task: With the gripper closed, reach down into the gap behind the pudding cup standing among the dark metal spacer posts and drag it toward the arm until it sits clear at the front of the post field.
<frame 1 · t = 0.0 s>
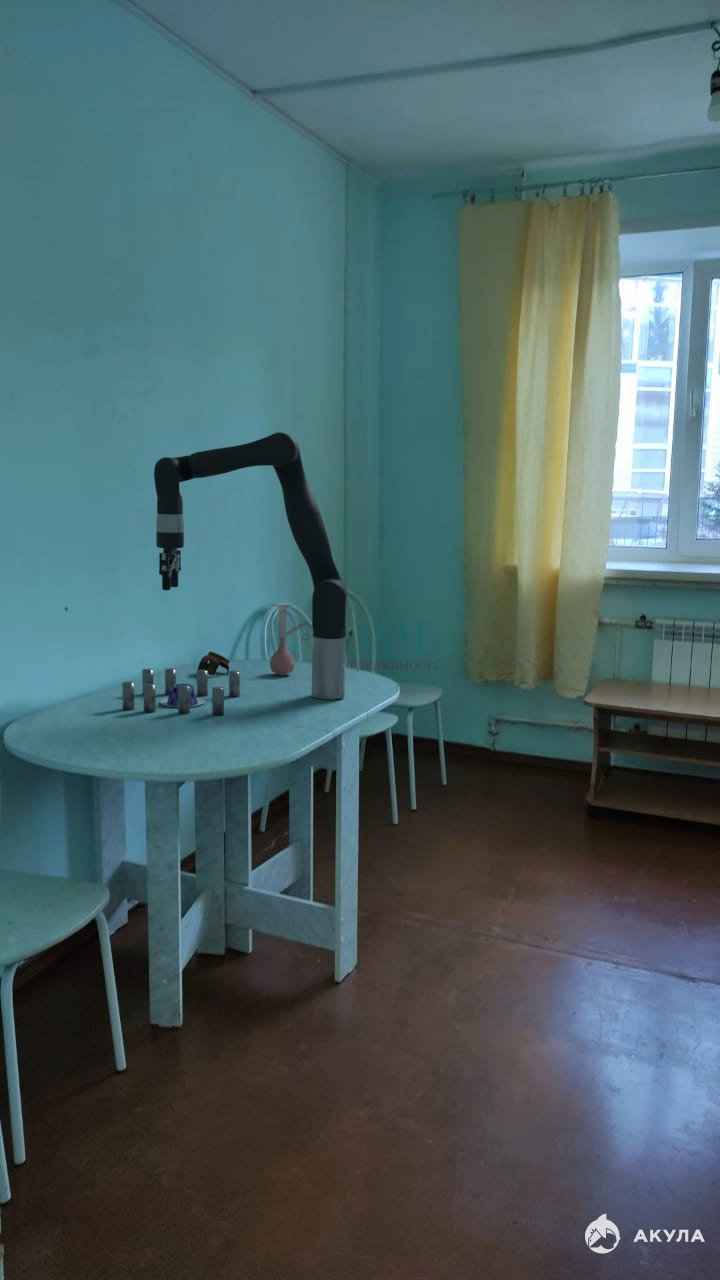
hand: (170, 588, 260), 29 cm above the table, fingers open, 8 cm apart
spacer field: (175, 702, 250), on the table
pudding: (182, 705, 250), on the table
perfume bottle: (282, 675, 291), on the table
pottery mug: (212, 676, 288), on the table
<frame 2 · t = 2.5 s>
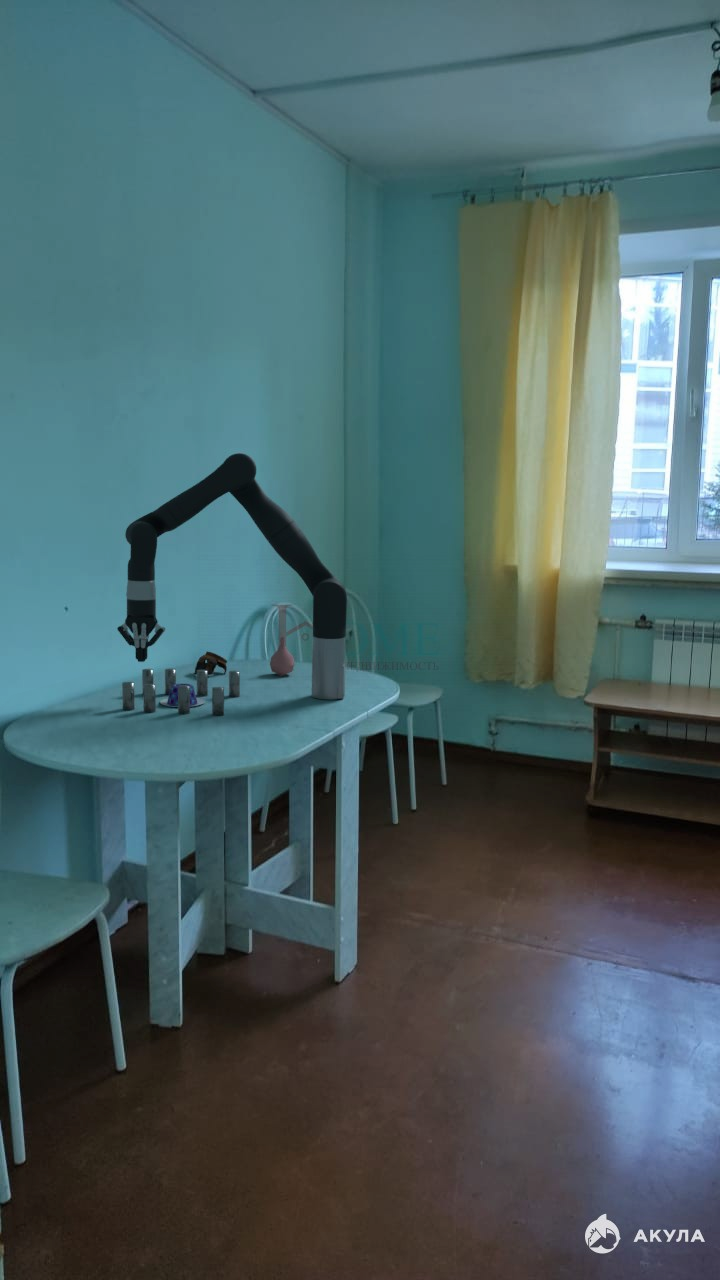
hand: (141, 661, 249), 11 cm above the table, fingers closed
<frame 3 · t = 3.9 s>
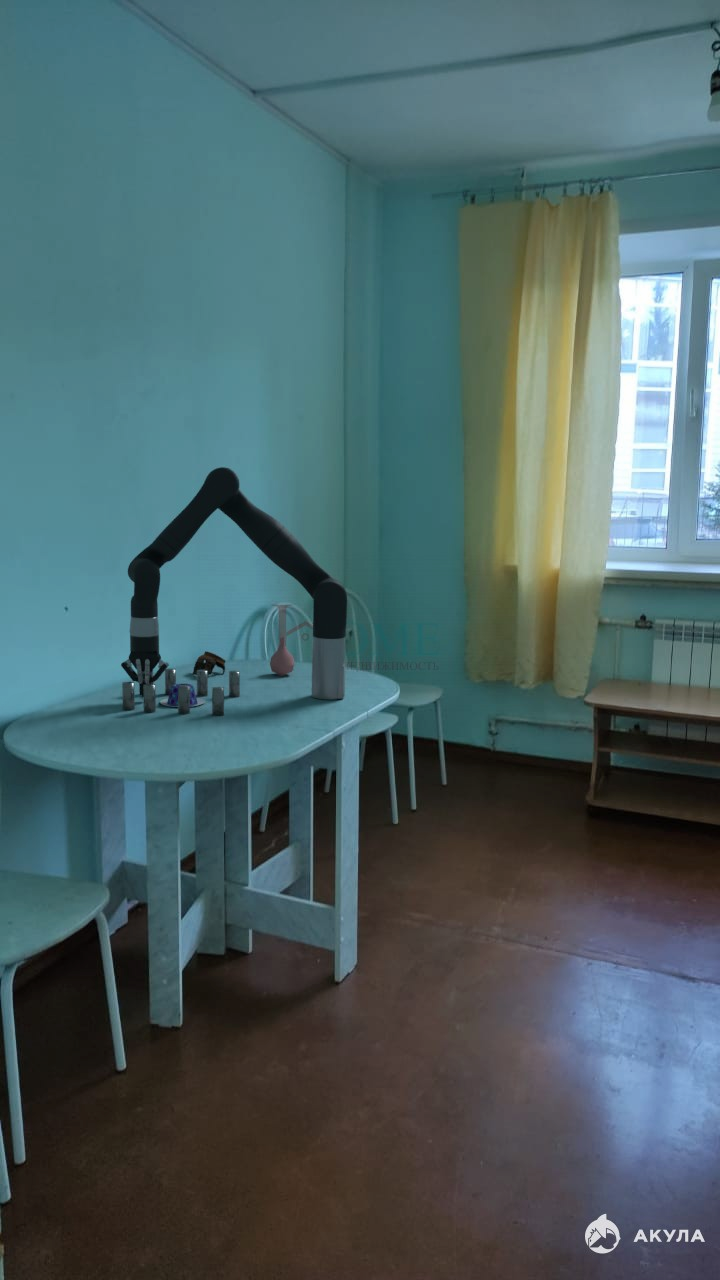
hand: (145, 696, 250), 1 cm above the table, fingers closed
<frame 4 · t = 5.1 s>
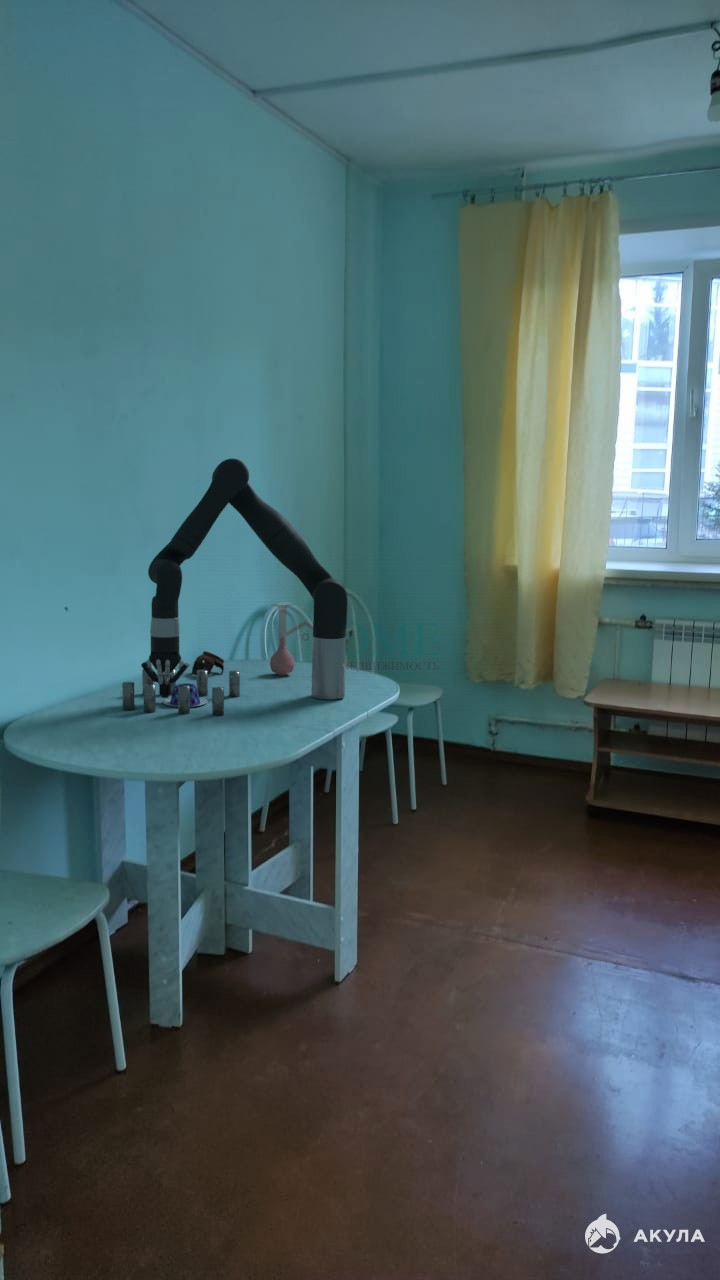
hand: (165, 697, 250), 1 cm above the table, fingers closed
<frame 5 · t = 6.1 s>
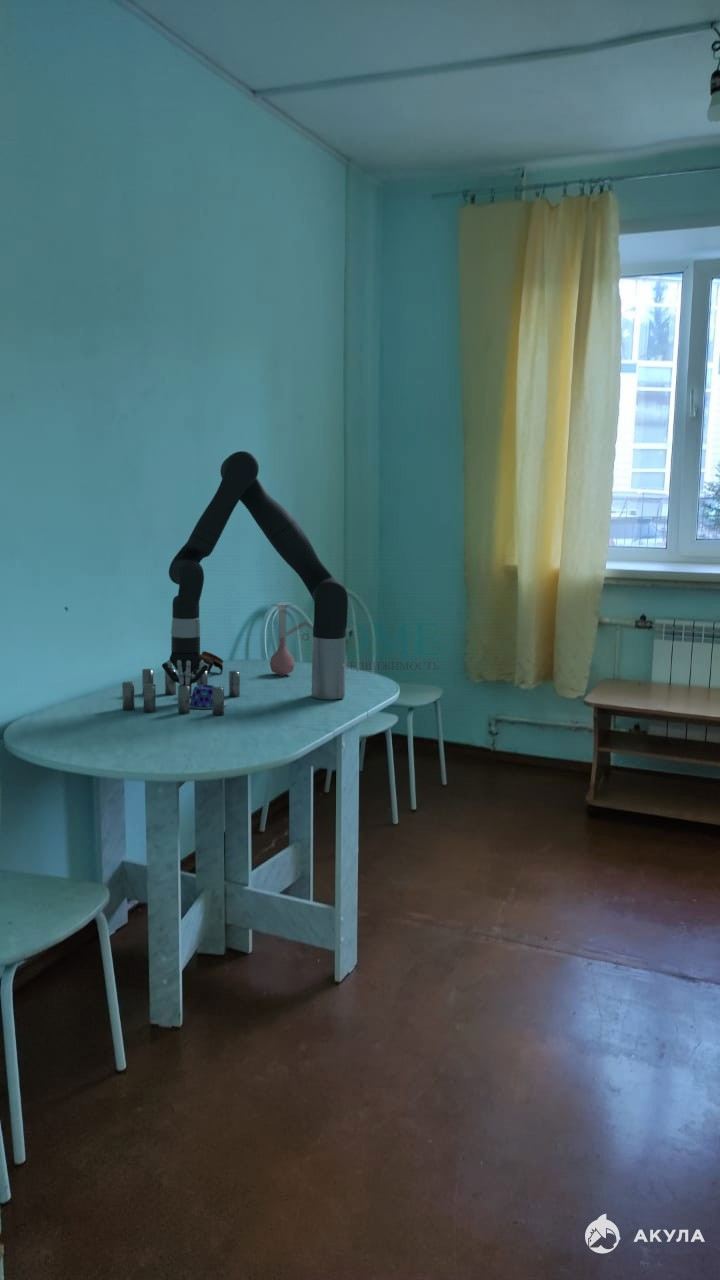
hand: (185, 697, 249), 2 cm above the table, fingers closed
pudding: (205, 706, 249), on the table
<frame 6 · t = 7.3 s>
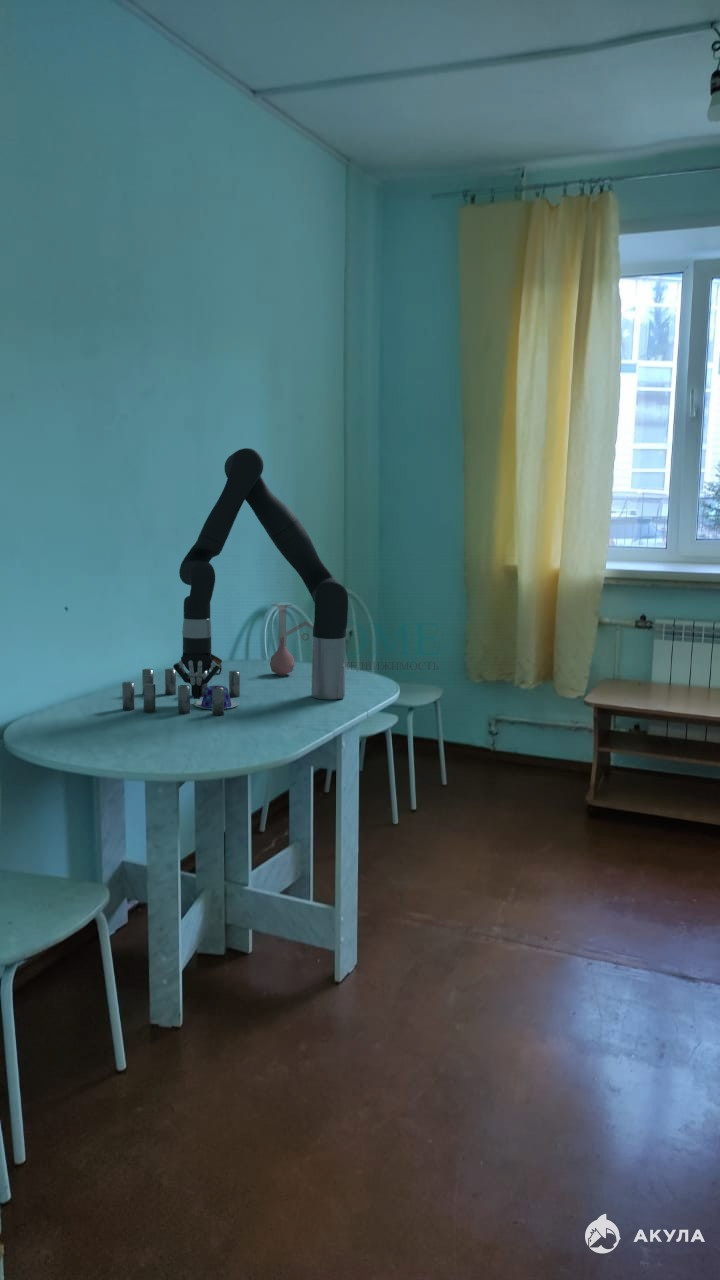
hand: (197, 698, 249), 2 cm above the table, fingers closed
pudding: (216, 707, 248), on the table
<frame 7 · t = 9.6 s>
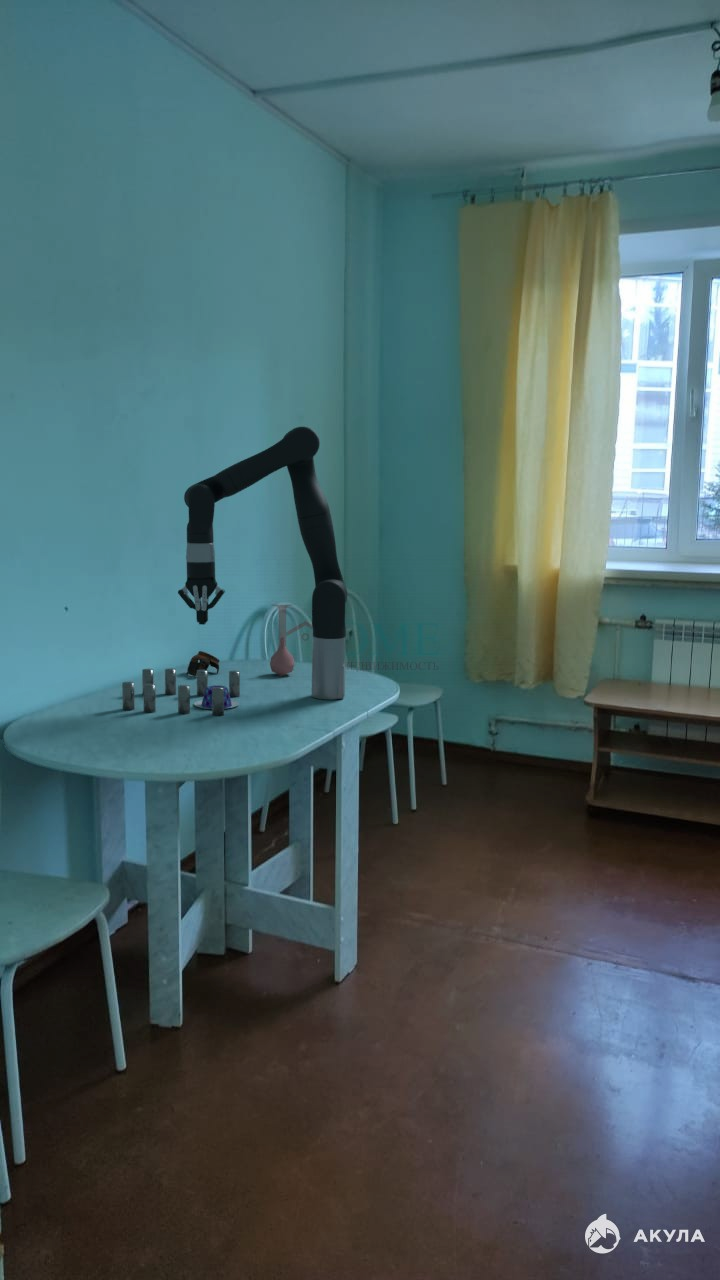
hand: (202, 624, 250), 21 cm above the table, fingers closed
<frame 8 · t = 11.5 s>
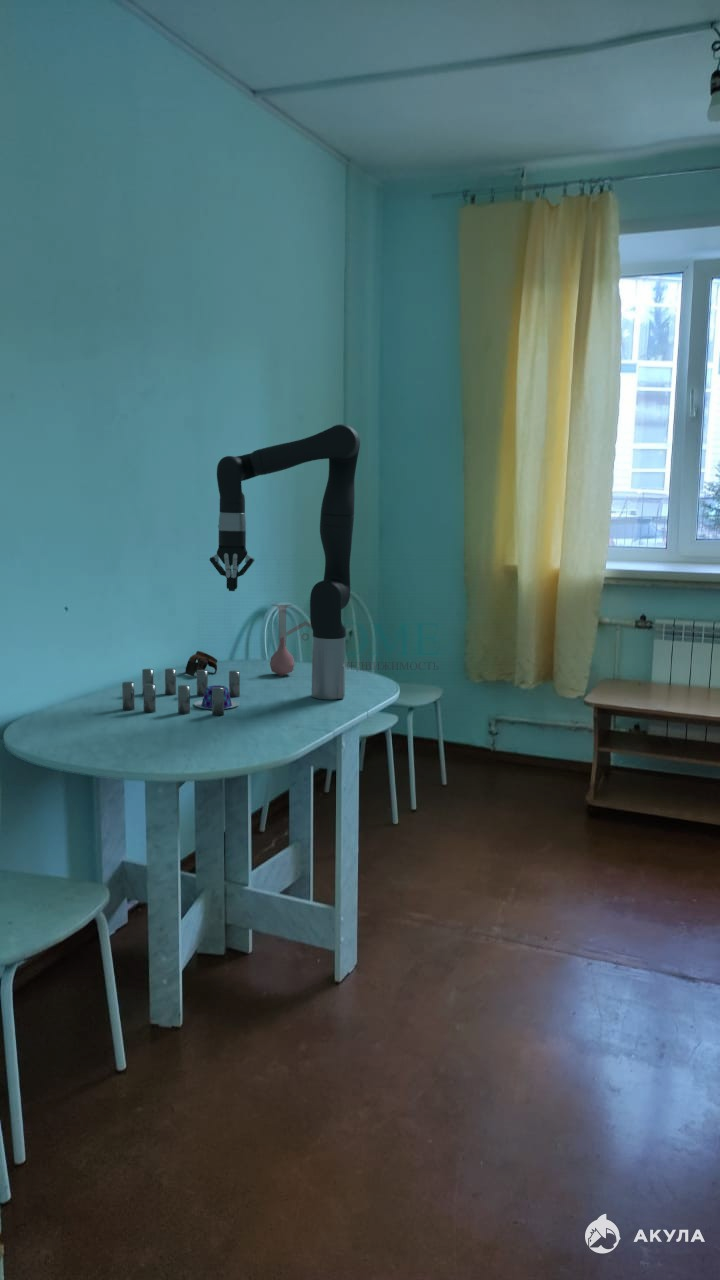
hand: (231, 590, 261), 29 cm above the table, fingers closed
at the end: pudding inside the target area (3.6 cm from its centre), on the table; pudding tilted 0°; pudding moved 9.5 cm from its start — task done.
